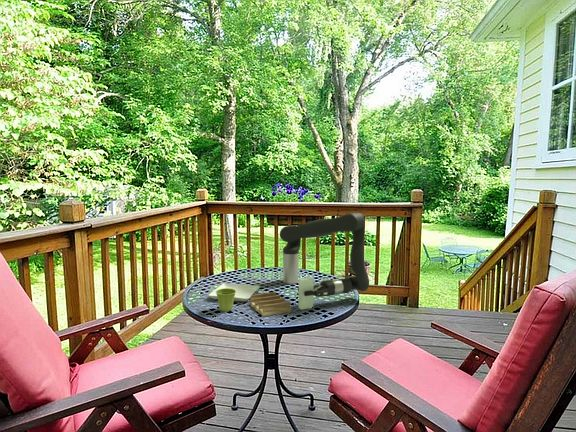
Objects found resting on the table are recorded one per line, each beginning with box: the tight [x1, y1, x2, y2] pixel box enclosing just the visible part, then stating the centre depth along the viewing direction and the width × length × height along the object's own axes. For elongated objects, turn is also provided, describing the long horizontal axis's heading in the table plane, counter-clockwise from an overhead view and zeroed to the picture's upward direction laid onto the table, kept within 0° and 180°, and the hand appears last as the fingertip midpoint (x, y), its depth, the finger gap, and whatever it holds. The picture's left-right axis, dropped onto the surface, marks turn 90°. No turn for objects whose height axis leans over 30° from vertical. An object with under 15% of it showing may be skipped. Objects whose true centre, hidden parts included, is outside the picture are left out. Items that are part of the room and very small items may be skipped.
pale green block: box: [297, 276, 315, 310], centre depth 179 cm, size 3×6×14 cm, turn 116°
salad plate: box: [208, 282, 260, 302], centre depth 196 cm, size 21×21×3 cm
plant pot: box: [216, 288, 236, 312], centre depth 176 cm, size 9×9×9 cm
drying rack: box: [249, 291, 292, 317], centre depth 179 cm, size 17×14×4 cm
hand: (301, 291), depth 178 cm, fingers open, 5 cm apart
